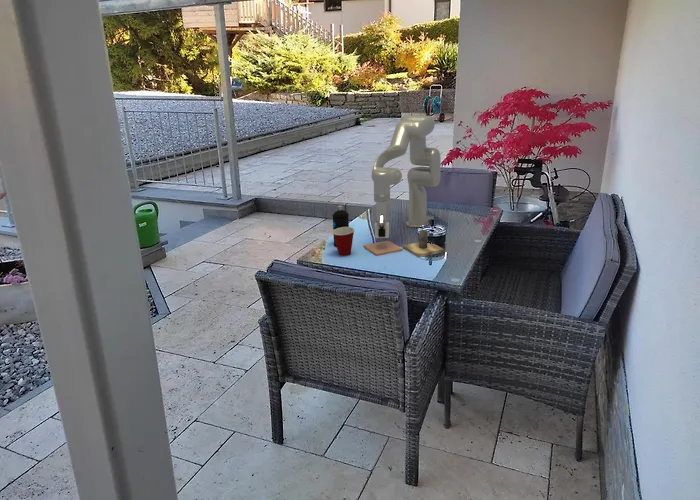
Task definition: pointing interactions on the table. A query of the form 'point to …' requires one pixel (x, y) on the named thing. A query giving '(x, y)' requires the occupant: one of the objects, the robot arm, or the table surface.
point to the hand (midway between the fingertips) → (382, 233)
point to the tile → (382, 248)
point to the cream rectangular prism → (385, 230)
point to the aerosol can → (340, 219)
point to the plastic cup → (343, 240)
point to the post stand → (423, 246)
